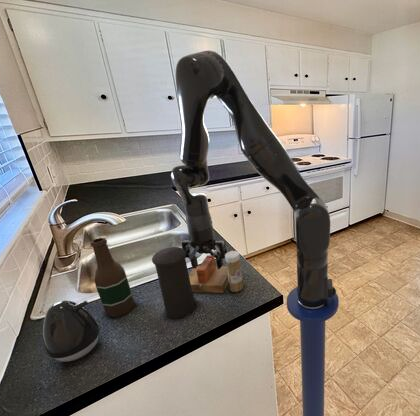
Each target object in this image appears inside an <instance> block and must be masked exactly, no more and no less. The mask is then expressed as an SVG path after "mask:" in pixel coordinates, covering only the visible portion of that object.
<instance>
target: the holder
mask: <svg viewBox="0 0 420 416" xmlns="http://www.w3.org/2000/svg"><path fill="white" fill-rule="evenodd" d="M198 266H199V267H198V269H197V270H196V271H197V276H198V281H199V283H207V281H208V280H209V278H210V276H211V275H212V273H213V272H214V270H215V269H216V266H217V263H216V258H215V257H214V256H211V255H210V254H206V256H205V258H204V259H203V261H202V262H201V263H200V265H198Z"/></svg>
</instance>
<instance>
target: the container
mask: <svg viewBox="0 0 420 416" xmlns="http://www.w3.org/2000/svg"><path fill="white" fill-rule="evenodd" d="M185 256H186V252H185V250H184V249H182V247H179V246H169V247H165V248H163V249H160V250H158V251H157V252H156V253H154V254H153V256H152V257H151V262H152V264H153V265H154V267H155V270H156V274H157V278H158V283H159V288H160V293H161V298H162V301H163V305H164V310H165V314H166V316H167V317H168V318H171V319H180V318H183V317H186V316H188V315H189V314H190V313H191V312H192V311H193V310H194V308H195V306H196V300H195V296H194V292H192V287H191V283H190V278H189V269H188V264H187V258H185Z"/></svg>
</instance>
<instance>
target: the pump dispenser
mask: <svg viewBox="0 0 420 416" xmlns="http://www.w3.org/2000/svg"><path fill="white" fill-rule="evenodd" d="M88 303H89V302H88V300H83V301H81V302H79V303H77V302H75V301H72V300H66V299H65V300H60V301H57V302H55V303H54V304H52V305H51V306H50V307H48V309H47V311H46V313H45V315H44V319H43V325H42V340H43V345H44V349H45V352H46V354H47V356H49V358H51V359H54V360H55V361H58V362H65V363H66V362H73V361H76V360H79V359H81V358H83V357H85V356H87V354H89V353H90V352H92V350H93V349H94V348H95V346H96V345H97V343H98V341H99V337H100V333H101V330H100V326H99V324H98V323H97V321H96V319H95V318H94V317H93V315H92V314H91V313H90V312H89V311H87V310H86V308H84V307H86V306H87V305H88Z"/></svg>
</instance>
